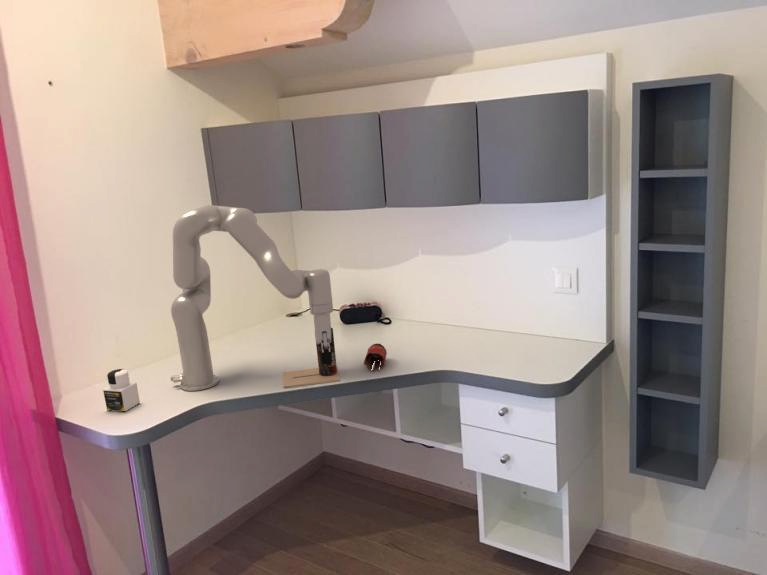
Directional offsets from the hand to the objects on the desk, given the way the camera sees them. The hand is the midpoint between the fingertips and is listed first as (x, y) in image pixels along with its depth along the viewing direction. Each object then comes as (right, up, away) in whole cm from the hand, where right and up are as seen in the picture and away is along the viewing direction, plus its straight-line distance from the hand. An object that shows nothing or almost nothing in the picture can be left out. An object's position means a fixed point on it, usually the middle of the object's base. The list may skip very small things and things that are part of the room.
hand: (326, 359), depth 216 cm
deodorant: (0, -5, +1) cm, 5 cm away
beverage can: (+17, -3, +7) cm, 18 cm away
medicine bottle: (-63, -14, -11) cm, 65 cm away
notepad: (-5, -6, 0) cm, 8 cm away
